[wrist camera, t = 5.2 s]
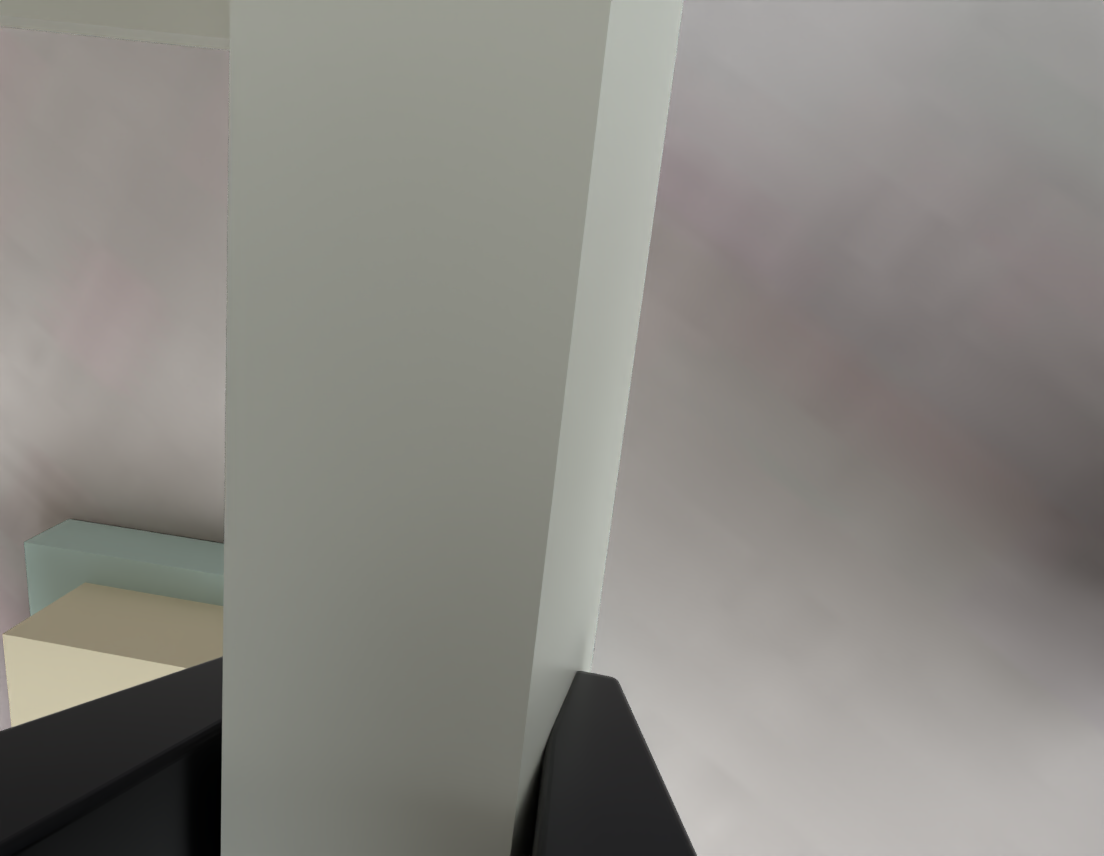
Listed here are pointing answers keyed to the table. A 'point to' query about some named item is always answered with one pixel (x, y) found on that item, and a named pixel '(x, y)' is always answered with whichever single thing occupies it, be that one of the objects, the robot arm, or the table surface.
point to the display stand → (110, 614)
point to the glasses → (416, 392)
